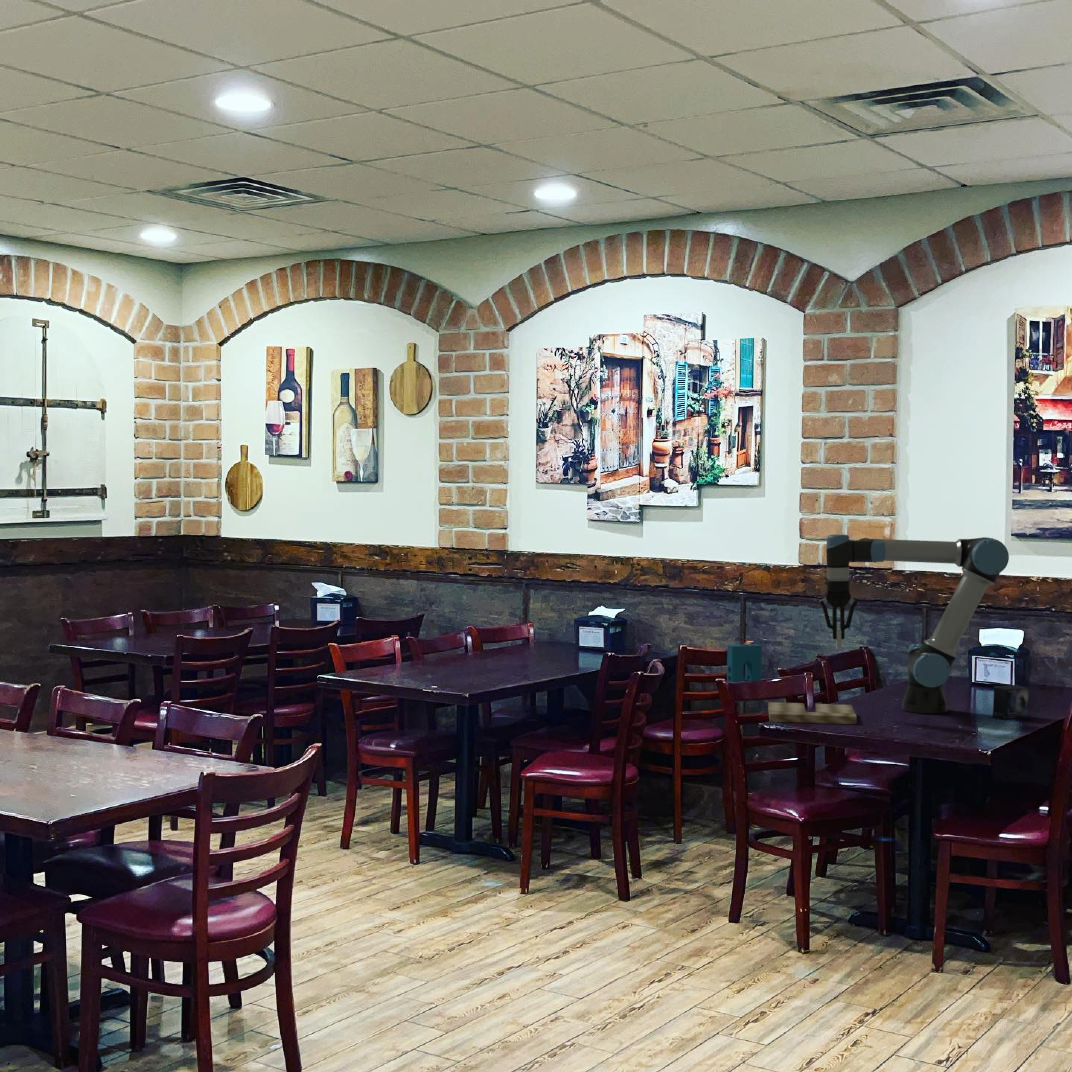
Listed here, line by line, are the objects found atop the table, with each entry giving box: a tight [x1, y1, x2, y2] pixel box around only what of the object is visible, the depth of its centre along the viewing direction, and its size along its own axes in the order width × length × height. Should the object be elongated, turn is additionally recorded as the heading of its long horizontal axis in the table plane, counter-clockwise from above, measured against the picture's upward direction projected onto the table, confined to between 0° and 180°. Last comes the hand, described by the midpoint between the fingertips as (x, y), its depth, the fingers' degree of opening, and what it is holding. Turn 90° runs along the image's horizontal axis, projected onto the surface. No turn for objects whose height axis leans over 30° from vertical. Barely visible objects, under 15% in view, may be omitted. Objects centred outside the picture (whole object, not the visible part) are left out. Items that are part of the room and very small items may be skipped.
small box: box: [992, 684, 1030, 720], centre depth 459 cm, size 11×6×10 cm, turn 117°
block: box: [726, 643, 763, 703], centre depth 490 cm, size 12×5×20 cm, turn 110°
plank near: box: [815, 703, 856, 714], centre depth 457 cm, size 12×13×2 cm
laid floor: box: [768, 711, 858, 725], centre depth 449 cm, size 28×6×2 cm, turn 82°
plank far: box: [767, 701, 807, 714], centre depth 460 cm, size 12×13×2 cm
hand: (838, 648), depth 463 cm, fingers closed
